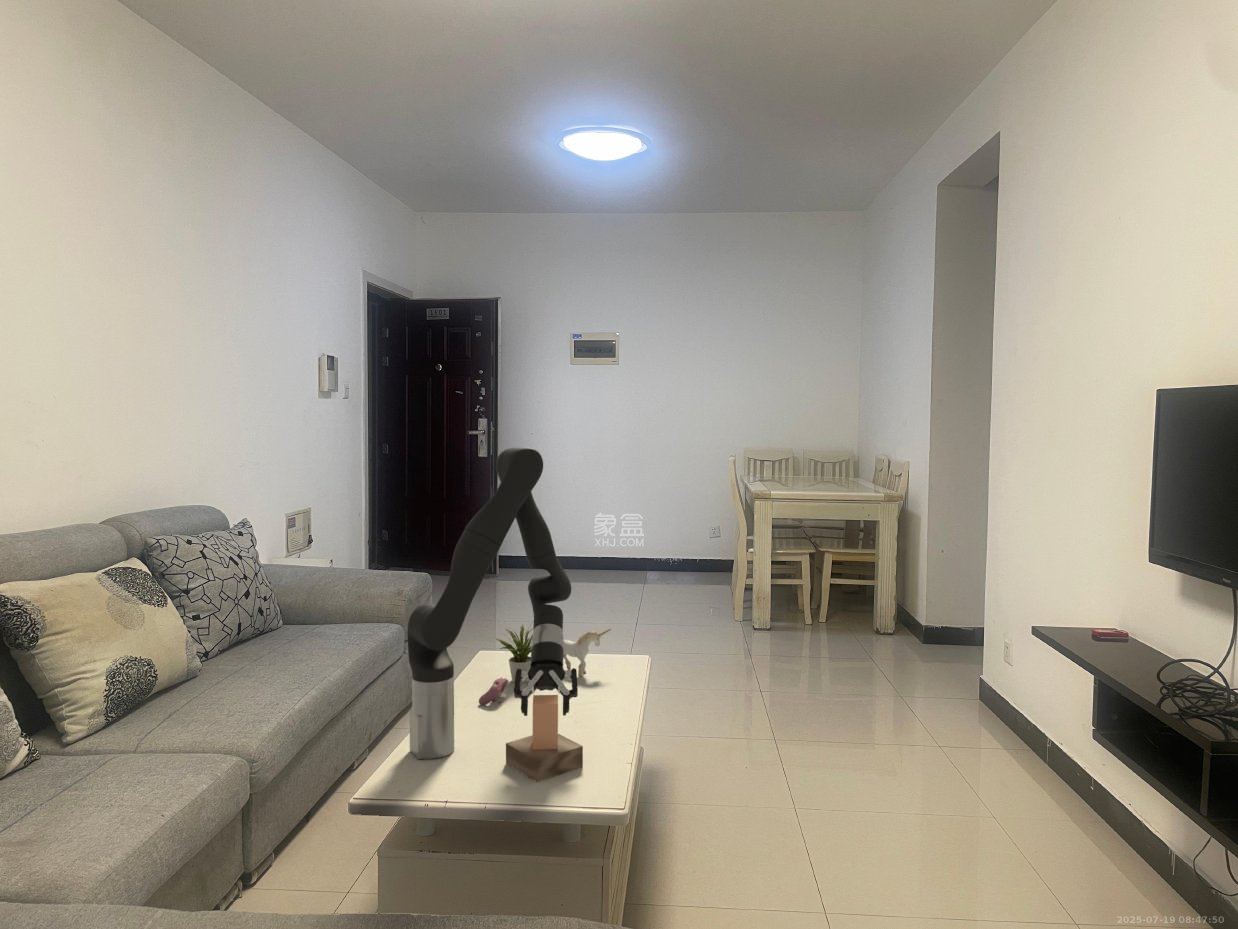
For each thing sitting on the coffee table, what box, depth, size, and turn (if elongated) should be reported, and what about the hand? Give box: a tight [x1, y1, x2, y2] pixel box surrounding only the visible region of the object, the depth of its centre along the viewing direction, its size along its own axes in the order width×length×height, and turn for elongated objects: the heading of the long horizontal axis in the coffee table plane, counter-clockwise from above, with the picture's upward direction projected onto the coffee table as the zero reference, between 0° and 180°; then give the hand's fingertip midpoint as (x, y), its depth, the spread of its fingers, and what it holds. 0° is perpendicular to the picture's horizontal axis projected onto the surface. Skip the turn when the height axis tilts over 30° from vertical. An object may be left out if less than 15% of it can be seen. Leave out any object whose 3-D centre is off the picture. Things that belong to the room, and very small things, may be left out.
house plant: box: [495, 623, 533, 684], centre depth 232 cm, size 14×14×16 cm
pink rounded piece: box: [478, 677, 509, 706], centre depth 214 cm, size 10×5×7 cm, turn 170°
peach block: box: [532, 694, 559, 750], centre depth 173 cm, size 5×5×10 cm
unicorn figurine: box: [563, 628, 612, 677], centre depth 238 cm, size 7×20×13 cm, turn 75°
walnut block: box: [505, 733, 584, 783], centre depth 173 cm, size 12×12×5 cm
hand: (545, 714), depth 174 cm, fingers open, 8 cm apart
